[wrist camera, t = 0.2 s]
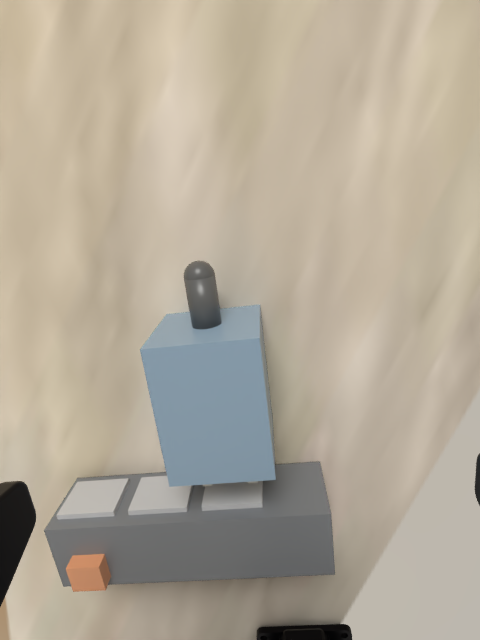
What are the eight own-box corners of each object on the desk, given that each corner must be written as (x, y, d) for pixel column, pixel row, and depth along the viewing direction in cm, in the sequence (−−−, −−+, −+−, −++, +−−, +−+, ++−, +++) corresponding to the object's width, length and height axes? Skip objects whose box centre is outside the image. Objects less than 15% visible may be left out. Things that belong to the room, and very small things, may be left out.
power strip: (323, 515, 25) (337, 588, 20) (92, 528, 26) (56, 600, 22) (319, 457, 23) (333, 522, 19) (76, 474, 25) (34, 538, 20)
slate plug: (275, 446, 24) (279, 511, 19) (192, 452, 24) (176, 517, 19) (253, 246, 20) (251, 265, 15) (156, 258, 20) (124, 279, 16)
